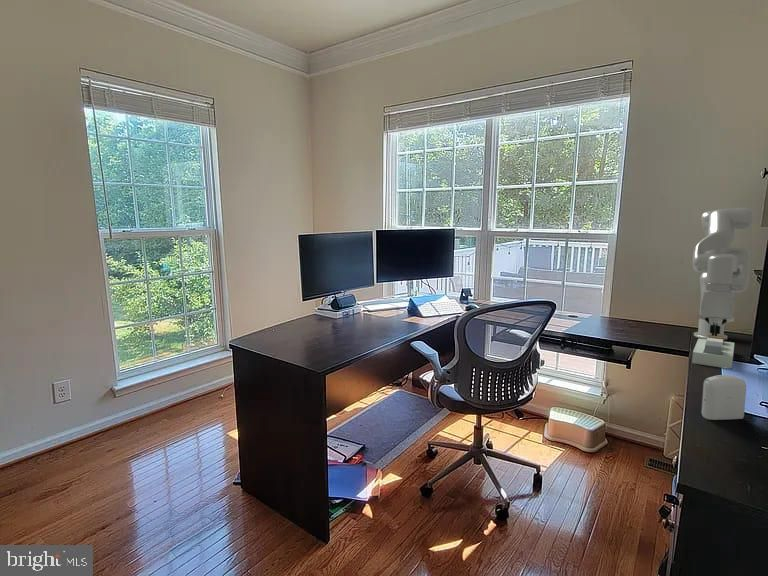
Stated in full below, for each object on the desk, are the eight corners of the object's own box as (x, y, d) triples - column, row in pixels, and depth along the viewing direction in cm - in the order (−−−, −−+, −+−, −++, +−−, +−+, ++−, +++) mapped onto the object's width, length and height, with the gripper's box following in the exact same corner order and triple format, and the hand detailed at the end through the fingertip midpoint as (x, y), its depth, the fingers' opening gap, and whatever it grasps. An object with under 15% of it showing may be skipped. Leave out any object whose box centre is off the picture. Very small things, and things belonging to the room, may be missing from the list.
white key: (706, 346, 172) (707, 337, 172) (722, 348, 169) (723, 339, 169) (705, 349, 169) (706, 340, 168) (721, 351, 165) (722, 342, 165)
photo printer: (709, 421, 117) (712, 378, 115) (698, 414, 121) (701, 373, 119) (746, 420, 117) (750, 377, 115) (734, 413, 121) (737, 372, 119)
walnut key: (708, 342, 178) (708, 333, 178) (723, 344, 175) (724, 335, 175) (707, 345, 175) (708, 336, 174) (722, 347, 171) (723, 337, 171)
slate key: (705, 351, 166) (706, 342, 166) (721, 353, 163) (722, 344, 163) (704, 354, 163) (705, 345, 162) (720, 357, 159) (721, 347, 159)
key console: (697, 348, 182) (698, 338, 182) (733, 353, 175) (734, 342, 174) (692, 363, 164) (692, 351, 164) (731, 369, 157) (732, 357, 156)
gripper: (744, 288, 157) (740, 336, 159) (694, 285, 167) (691, 331, 169) (744, 290, 152) (739, 340, 154) (693, 287, 161) (689, 334, 163)
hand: (714, 335), depth 161 cm, fingers closed
